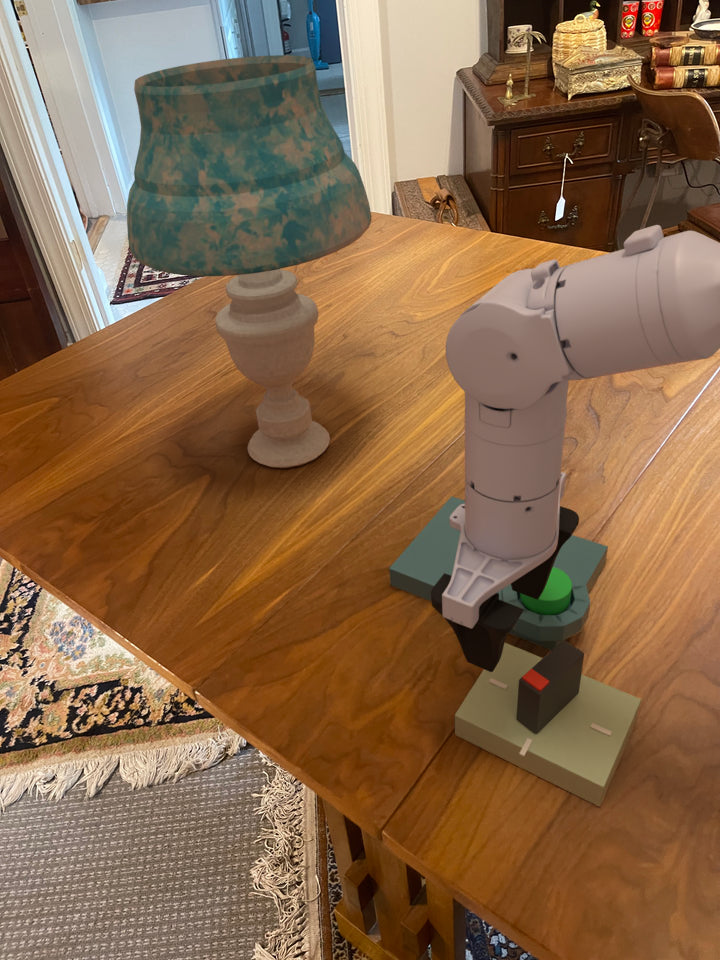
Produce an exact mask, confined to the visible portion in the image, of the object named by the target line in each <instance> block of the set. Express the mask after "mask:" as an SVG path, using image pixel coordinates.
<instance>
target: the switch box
mask: <svg viewBox="0 0 720 960" xmlns="http://www.w3.org/2000/svg"><path fill="white" fill-rule="evenodd" d="M461 504H465V499H461V498H459V497H456V496H453V495H452V496H450V497H449V498H448V500H447V501H446V502H445V503H444V504H443V505H442V507H441V508H440V509H439V510H438V511H437V512H436V514H435V515H434V516H433V517H432V518H431V519H430V521H428V523H426V525H425V526H424V527H423V528H422V530H421V531H420V532H419V533H418V534H417V535H416V536H415V537H414V538H413V540H412V541H411V542H410V543H409V545H408V546H407V547H406V548H405V549H404V550H403V551H402V553H401V554H400V555H399V556H398V557H397V558H396V559H395V561H394V562H393V563H391V565H390V567H389V568H388V570H389V572H388V573H389V585H390V586H392V587H393V588H397V589H398V590H401V591H403V592H406V593H408V594H411V595H413V596H416V597H418V598H422V599H423V600H426V601H429V602H431V590H432V588H433V587H434V586H435V584H436V583H437V582H438V581H439V579H440V578H441V577H442V575H443V574H444V573H446V574H448V575H451V576H452V573H453V568H454V563H455V558H456V553H457V548H458V543H459V538H460V533H461V532H460V531H459V530H457V529H454V528H452V527H451V526H450V522H449V518H450V515H451V514H452V513H453V512H454V511H455V509H456V508H457V507H458V506H459V505H461ZM608 551H609V546H608V545H606V544H602V543H599V542H596V541H592V540H589V539H587V538H583V537H580V536H577V535H574V534H572V535H571V537H570V538H569V539H568V540H567V541H566V542H565V543H564V544H563V546H562V547H561V549H560V551H559V553H558V555H557V557H556V560H555V562H554V565H553V567H555V568H558V569H560V570H562V571H563V572H565V573H566V574H567V575H568V576H569V578H570V580H571V582H572V591H571V599H570V604H569V606H568V607H567V608H566V609H565V610H564V611H563V612H561V613H559V614H556V615H540V614H537V613H534V612H532V611H530V610H529V609H527V608H526V607H525V606H524V605H523V603H522V601H521V598H520V593H518V592H516V591H513V590H512V587H511V584H509V585H508V586H506V587H505V588H503V589H502V590H500V591H499V592H497V593H498V594H499V600H501V601H504V602H507V603H509V604H512V605H514V606H517V607H520V608H522V609H524V611H523V613H522V614H521V616H520V617H519V619H518V620H517V622H516V624H515V625H514V626H513V628H512V629H511V630H510V631H509V633H508V634H510V635H512V636H515V637H517V638H519V639H521V640H524V641H527V642H529V643H532V644H534V645H537V646H539V647H542V648H544V649H547V650H549V651H551V650H553V649H554V648H555V647H556V646H557V645H558V644H559V643H560V642H561V641H563V640H565V641H566V640H567V639H569V638H571V637H573V636H575V635H577V634H579V633H580V632H581V631H582V630H583V628H584V626H585V625H586V622H587V620H588V619H589V616H590V615H589V613H590V608H591V599H590V595H589V594H590V592H591V590H592V588H593V587H594V585H595V584H596V582H597V580H598V578H599V576H600V574H601V572H602V570H603V569H604V567H605V565H606V563H607V557H608V556H607V555H608Z"/></svg>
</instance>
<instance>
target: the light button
mask: <svg viewBox="0 0 720 960" xmlns="http://www.w3.org/2000/svg"><path fill="white" fill-rule="evenodd" d="M571 591H572V582H571V580H570V578H569V576H568V575H567V574H566V573H565V572H563V571H562V570H560V569H558V568H555V567H553V568H552V570H551V573H550V576H549V579H548V581H547V584H546V586H545V588H544V591H543V592H542V594H541V596H540V597H539V599H538V600H537V599H534V598H532V597H529V596H526V595H524V594H521V593H520V598H521V601H522V603H523V605H524V606H525V607H526V608H527V609H529V610H530V611H532V612H534V613H537V614H540V615H556V614H559V613H561V612H563V611H564V610H565V609H566V608H567V607H568V606H569V604H570V599H571Z"/></svg>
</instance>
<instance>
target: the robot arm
mask: <svg viewBox="0 0 720 960" xmlns="http://www.w3.org/2000/svg"><path fill="white" fill-rule="evenodd" d="M718 351H720V242H719V241H717V240H714V239H713V238H710V237H708V236H706V235H705V234H702V233H700V232H697V231H695V230H685V231H682V232H678V233H675V234H671V235H668V236H665V237H664V233H663V230H662V226H661V225H659V224H655V225H651V226H648V227H645V228H641V229H638V230H635V231H634V232H632V233H631V234H630V236H628V237H627V238H626V239H625V241H624V242H623V249H619V250H615V251H612V252H609V253H605V254H602V255H598V256H595V257H594V256H593V257H591V258H588V259H584V260H581V261H578V262H574V263H570V264H567V265H564V266H560V264H559V261H558V260H557V259H556V258H555V259H550V260H547V261H544V262H541V263H538V264H537V265H536V266H535V267H534V268H525V269H519V270H517V271H514V272H512V273H509V274H508V275H507V276H505V277H504V278H502V279H501V280H500V281H499V282H498V283H496V284H495V285H494V286H493V287H492V288H491V289H489V290H488V291H486V293H485V294H483V295H482V296H481V297H480V298H478V299H477V300H476V301H475V302H474V303H473V304H471V306H469V307H468V308H467V309H466V310H464V311H463V312H462V313H461V314H460V315H459V316H458V318H457V319H456V320H455V321H454V323H453V324H452V325H451V327H450V328H449V331H448V333H447V336H446V340H445V358H446V364H447V367H448V369H449V372H450V374H451V376H452V377H453V379H454V381H455V382H456V383H457V385H458V386H459V388H461V390H463V392H464V500H465V504H461V505H459V506H458V507H457V508H456V509H455V511H454V512H453V513H452V514H451V515H450V518H449V522H450V526H451V527H452V528H454V529H457V530H459V531H460V532H461V533H460V538H459V543H458V548H457V553H456V558H455V563H454V568H453V573H452V576H451V575H448V574H446V573H444V574H443V575H442V577H441V578H440V579H439V581H438V582H437V583H436V584H435V586H434V587H433V588H432V590H431V601H430V603H431V606H432V608H433V609H434V610H436V612H437V613H439V614H440V615H441V616H442V618H443V619H444V620H445V621H446V622H447V623H448V625H449V627H451V629H452V631H453V633H454V634H455V636H456V638H457V640H458V643H459V645H460V649H461V651H462V653H463V656H464V658H465V660H466V662H467V663H469V664H471V665H473V666H476V667H478V668H480V669H482V670H484V669H485V670H487V671H489V672H493V671H494V669H495V667H496V666H497V664H498V662H499V661H500V658H501V655H502V651H503V647H504V643H506V638H507V636H508V634H509V631H510V630H511V629H512V628H513V626H514V625H515V624H516V622H517V620H518V619H519V617H520V616H521V614H522V613H523V611H524V609H522V608H520V607H517V606H514V605H512V604H509V603H507V602H504V601H501V600H499V594H498V593H497V592H499V591H500V590H502V589H503V588H505V587H506V586H508V585H509V584H511V587H512V590H513V591H516V592H518V593H521V594H524V595H526V596H529V597H532V598H534V599H537V600H538V599H539V597H540V596H541V594H542V592H543V591H544V588H545V586H546V584H547V581H548V579H549V576H550V573H551V570H552V568H553V565H554V562H555V560H556V557H557V555H558V553H559V551H560V549H561V547H562V546H563V544H564V543H565V542H566V541H567V540H568V539H569V538H570V537H571V535H574V533H575V530H576V529H577V527H578V526H579V523H580V516H579V513H577V512H576V511H574V510H573V509H571V508H568V507H565V506H564V507H563V506H561V500H562V499H563V497H564V496H565V491H566V484H567V483H566V481H567V473H566V472H562V467H563V457H564V447H565V446H564V445H565V435H566V424H567V415H568V412H567V411H568V408H567V402H568V393H569V383H570V381H583V380H588V379H594V378H600V377H607V376H612V375H618V374H619V375H620V374H625V373H630V372H636V371H641V370H642V371H643V370H648V369H653V368H659V367H665V366H671V365H676V364H682V363H688V362H693V361H694V362H695V361H700V360H707V359H709V358H711V357H713V356H714V355H715V354H716V353H717V352H718Z"/></svg>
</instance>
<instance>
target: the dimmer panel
mask: <svg viewBox="0 0 720 960" xmlns="http://www.w3.org/2000/svg"><path fill="white" fill-rule="evenodd" d="M543 658H544V657H541V656H538V655H536V654H534V653H531V652H529V651H527V650H524V649H522V648H519V647H517V646H515V645H512V644H510V643H507V642H505V643H504V647H503V651H502V655H501V658H500V661H499V662H498V664H497V666H496V667H495V669H494V671H493V672H489V671H487V670H485V669H482V671H481V672H480V674H479V676H478V678H477V679H476V680H475V682H474V684H473V685H472V687H471V689H470V690H469V691H468V693H467V694H466V696H465V698H464V699H463V701H462V702H461V704H460V706H459V707H458V709H457V710H456V712H455V714H454V735H455V736H457V737H458V738H460V739H462V740H465V741H466V742H468V743H470V744H472V745H474V746H476V747H478V748H481V749H483V750H485V751H487V752H488V753H491V754H492V755H494V756H496V757H498V758H501V759H502V760H505V761H507V762H508V763H510V764H513V765H514V766H517V767H518V768H521V769H522V770H525V771H526V772H529V773H531V774H532V775H535V776H537V777H539V778H541V779H543V780H545V781H547V782H548V783H551V784H553V785H555V786H557V787H559V788H561V789H562V790H565V791H567V792H569V793H571V794H572V795H574V796H577V797H579V798H581V799H583V800H585V801H587V802H589V803H591V804H593V805H595V806H597V807H601V806H602V804H603V801H604V799H605V797H606V794H607V792H608V789H609V787H610V784H611V782H612V780H613V777H614V775H615V773H616V770H617V768H618V765H619V763H620V761H621V758H622V756H623V753H624V752H625V749H626V747H627V744H628V742H629V739H630V737H631V735H632V732H633V729H634V727H635V725H636V723H637V720H638V716H639V712H640V707H641V703H642V698H640V697H638V696H636V695H632V694H631V693H628V692H625V691H623V690H620V689H619V688H617V687H613V686H611V685H609V684H606V683H604V682H601V681H599V680H597V679H594V678H592V677H589V676H587V675H584V674H581V681H580V688H579V693H578V694H577V695H576V696H575V697H574V698H573V699H572V700H571V701H570V702H569V703H568V704H567V705H566V706H565V707H564V708H563V709H562V710H561V711H560V712H559V713H558V714H557V715H556V716H555V717H554V718H553V719H552V720H551V721H550V722H549V723H548V724H547V725H546V726H545V727H543V728H542V729H541V730H540V731H539V732H538V733H537V734H535V733H533V732H532V731H531V730H529V729H528V728H527V727H525V726H524V725H523V724H522V723H520V722H519V721H518V720H517V719H516V716H517V701H518V686H519V679H520V678H521V677H523V676H524V675H525V674H526V673H527V672H528V671H529V670H530V669H531V668H533V667H534V666H535V665H536V664H537V663H538V662H539V661H540V660H541V659H543Z"/></svg>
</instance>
